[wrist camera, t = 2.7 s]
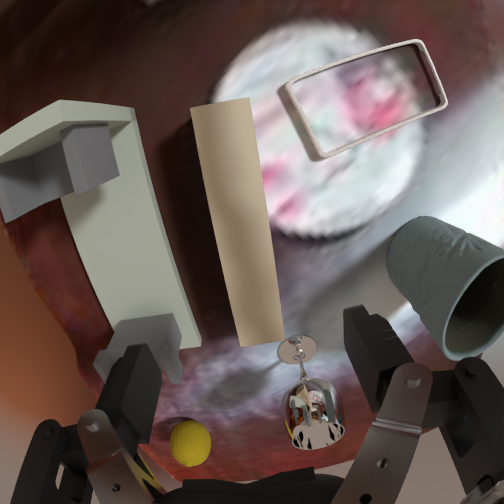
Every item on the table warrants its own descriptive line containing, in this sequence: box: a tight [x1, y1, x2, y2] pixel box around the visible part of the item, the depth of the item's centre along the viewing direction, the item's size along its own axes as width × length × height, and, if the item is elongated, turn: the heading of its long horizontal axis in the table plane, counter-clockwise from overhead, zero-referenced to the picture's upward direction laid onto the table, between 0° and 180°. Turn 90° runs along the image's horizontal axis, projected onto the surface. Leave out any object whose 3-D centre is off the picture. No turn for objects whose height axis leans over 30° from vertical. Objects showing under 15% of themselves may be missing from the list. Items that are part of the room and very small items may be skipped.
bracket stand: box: [0, 100, 202, 384], centre depth 21 cm, size 9×24×12 cm, turn 11°
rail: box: [190, 98, 285, 347], centre depth 25 cm, size 4×20×5 cm, turn 9°
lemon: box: [170, 420, 211, 467], centre depth 34 cm, size 6×6×8 cm
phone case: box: [285, 39, 448, 157], centre depth 22 cm, size 7×1×15 cm
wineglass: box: [278, 335, 345, 450], centre depth 27 cm, size 6×6×12 cm
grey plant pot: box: [387, 216, 504, 361], centre depth 23 cm, size 10×10×12 cm
